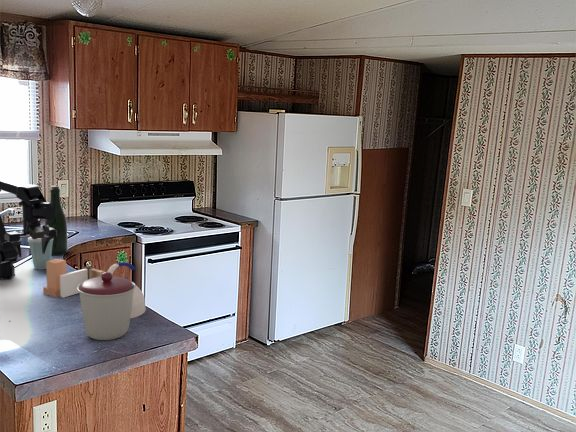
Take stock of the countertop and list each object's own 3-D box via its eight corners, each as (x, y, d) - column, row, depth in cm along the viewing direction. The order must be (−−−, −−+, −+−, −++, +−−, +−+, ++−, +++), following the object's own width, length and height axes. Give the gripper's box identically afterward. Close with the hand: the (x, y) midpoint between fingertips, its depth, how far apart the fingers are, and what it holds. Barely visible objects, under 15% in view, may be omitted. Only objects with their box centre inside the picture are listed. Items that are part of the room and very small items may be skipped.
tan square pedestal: (43, 293, 224) (42, 261, 222) (58, 289, 230) (57, 257, 228) (55, 297, 221) (54, 264, 219) (70, 292, 227) (69, 260, 225)
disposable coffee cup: (42, 272, 251) (41, 238, 248) (22, 268, 254) (21, 235, 251) (59, 266, 260) (58, 233, 258) (40, 263, 264) (39, 231, 261)
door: (82, 288, 231) (82, 267, 229) (87, 290, 230) (87, 269, 228) (58, 296, 221) (57, 274, 219) (63, 297, 220) (62, 276, 218)
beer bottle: (40, 254, 278) (38, 186, 272) (51, 249, 288) (50, 183, 282) (61, 256, 277) (59, 188, 271) (71, 251, 287) (70, 185, 281)
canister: (114, 320, 202) (114, 261, 198) (147, 334, 190) (147, 273, 186) (66, 333, 188) (65, 271, 184) (98, 350, 177) (97, 284, 173)
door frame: (104, 292, 229) (104, 268, 227) (99, 294, 227) (99, 269, 225) (67, 282, 239) (66, 259, 237) (62, 283, 237) (62, 260, 235)
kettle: (75, 315, 204) (74, 266, 201) (111, 298, 223) (111, 253, 220) (123, 325, 198) (123, 274, 194) (156, 306, 217) (157, 260, 213)
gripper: (14, 223, 218) (15, 263, 220) (62, 218, 231) (63, 256, 234) (3, 218, 225) (4, 257, 228) (50, 213, 238) (51, 250, 241)
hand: (32, 255), depth 233 cm, fingers open, 9 cm apart
